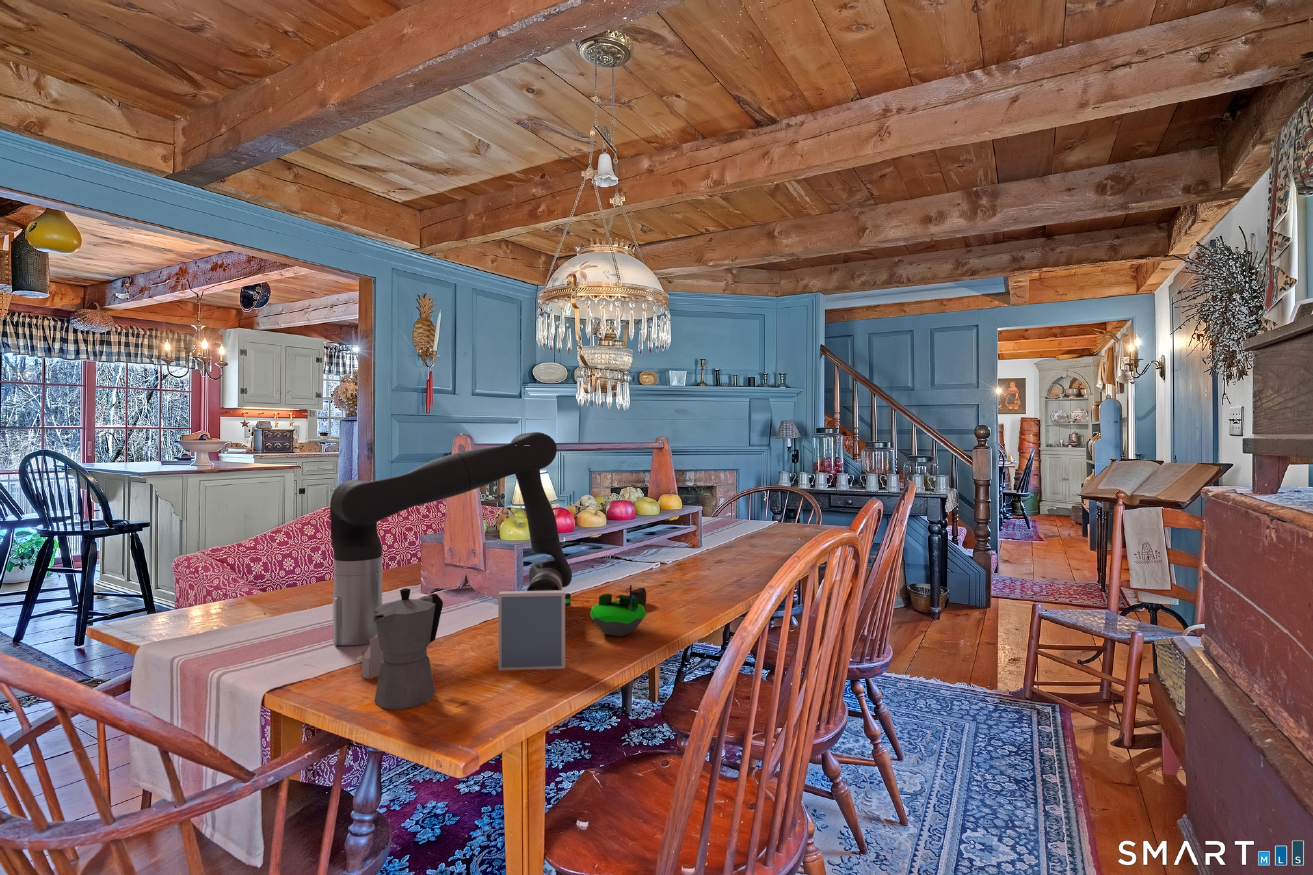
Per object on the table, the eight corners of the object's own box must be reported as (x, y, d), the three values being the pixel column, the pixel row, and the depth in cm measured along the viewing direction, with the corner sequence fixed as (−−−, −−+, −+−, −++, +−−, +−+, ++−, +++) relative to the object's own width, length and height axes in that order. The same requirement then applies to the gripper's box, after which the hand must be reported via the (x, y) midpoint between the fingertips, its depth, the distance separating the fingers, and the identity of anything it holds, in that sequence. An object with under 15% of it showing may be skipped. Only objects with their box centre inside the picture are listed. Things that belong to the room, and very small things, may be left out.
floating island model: (654, 631, 147) (655, 581, 147) (626, 645, 137) (627, 591, 137) (608, 623, 153) (609, 575, 153) (578, 636, 143) (579, 584, 143)
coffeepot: (398, 719, 102) (398, 600, 101) (351, 709, 105) (351, 594, 105) (463, 683, 116) (463, 579, 116) (419, 676, 119) (419, 575, 119)
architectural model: (355, 678, 120) (355, 636, 120) (386, 666, 126) (386, 626, 126) (369, 681, 118) (369, 639, 118) (400, 669, 125) (399, 629, 125)
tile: (498, 670, 122) (498, 594, 122) (499, 666, 124) (499, 591, 124) (564, 668, 123) (564, 592, 123) (565, 665, 125) (565, 590, 125)
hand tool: (613, 624, 153) (613, 603, 153) (599, 621, 155) (599, 601, 155) (655, 605, 169) (655, 587, 169) (641, 603, 171) (641, 585, 171)
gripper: (515, 574, 151) (504, 593, 134) (574, 573, 152) (571, 591, 135) (515, 607, 151) (504, 630, 134) (574, 606, 152) (571, 629, 135)
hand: (537, 611), depth 135 cm, fingers closed
